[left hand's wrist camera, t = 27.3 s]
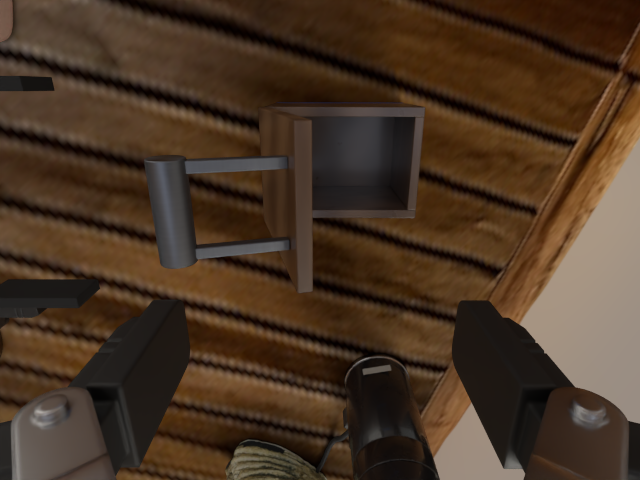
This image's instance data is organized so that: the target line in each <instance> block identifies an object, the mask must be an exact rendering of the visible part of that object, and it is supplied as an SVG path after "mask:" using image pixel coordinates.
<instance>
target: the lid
mask: <svg viewBox="0 0 640 480" xmlns="http://www.w3.org/2000/svg"><path fill="white" fill-rule="evenodd" d="M258 110H259V129H260V148H261V156H251V157H226V158H202V159H186V157H184V156H179V155H162V156H153V157H149V158H146V159H144V163H145V170H146V176H147V182H148V188H149V195H150V201H151V207H152V214H153V220H154V226H155V232H156V239H157V245H158V251H159V257H160V263H161V265H162V266H163V267H165V268H170V269H178V268H184V267H188V266H191V265H193V264H195V263H196V262H197V261H198V259H204V258H213V257H223V256H233V255H243V254H253V253H262V252H272V251H279V253H280V255H281V258H282V260H283V262H284V264H285V266H286V269H287V271H288V273H289V275H290V278H291V280H292V282H293V284H294V286H295V289H296V291H297V293H305V292H312V291H313V225H312V120H310V119H307V118H303V117H300V116H297V115H293V114H290V113H287V112H284V111H280V110H277V109H274V108H270V107H259V108H258ZM254 170H262V187H263V206H264V220H265V222H266V224H267V227H268V229H269V231H270V233H271V236H272V238H265V239H255V240H244V241H233V242H222V243H212V244H201V245H196V237H195V229H194V220H193V212H192V204H191V195H190V187H189V179H188V174H194V173H214V172H234V171H254Z"/></svg>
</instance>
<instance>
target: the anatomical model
mask: <svg viewBox="0 0 640 480" xmlns="http://www.w3.org/2000/svg"><path fill="white" fill-rule="evenodd" d="M12 28H13V3H12V0H0V42H2V41H5V40H6V39H8V38H9V37H10V35H11V33H12Z"/></svg>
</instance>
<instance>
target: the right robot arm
mask: <svg viewBox="0 0 640 480" xmlns="http://www.w3.org/2000/svg"><path fill="white" fill-rule="evenodd" d="M0 91H55V90H54V86H53V82H52V77H31V76H0ZM99 289H100V287H99V283H98V280H7V281H5V282H4V283H2V284H0V328H2V327H3V326H4V325H5V324H7V323H8V322H9V318H17V317H19V318H23V317H24V318H32V317H35V316H38V315H39V314H41V313H42V312H43V311H44V310H45V309H47V308H79V307H80V306H81V305H83V304H84V303H85V302H86V301H87V300H88V299H89V298H90V297H91V296H92V295H93V294H95V293H96V292H97V291H98V290H99ZM2 345H3V344H2V338H1V334H0V357H1V354H2Z"/></svg>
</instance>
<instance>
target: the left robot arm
mask: <svg viewBox="0 0 640 480" xmlns="http://www.w3.org/2000/svg"><path fill="white" fill-rule="evenodd" d="M189 356H190V343H189V336H188V329H187V322H186V315H185V308H184V304H183V302H182V301H181V300H153V301H152V302H151V303H150V305H149V306H148V307H147V309H146V310H145V311H144V312H143V314H142V315H141V316H140V317H133V318H132V319H130V320H128V321H127V322H125V323H124V324H122V325H121V326H119V327H118V328H117V329H116V330H115V331H114V332H113V334H112V335H111V336H110V337H109V338H108V340H107V342H105V343H104V344H103V345H102V347H101V348H100V349H99V352H98V353H96V354H95V355H94V356H93V357H92V358H91V360H90V361H89V362H88V363H87V364H86V366H85V367H84V368H83V369H82V370H81V372H80V373H79V374H78V375H77V376H76V377H75V379H74V380H73V381H72V382H71V383H70V385H69V386H68V387H65V388H60V389H56V390H53V391H50V392H47V393H45V394H42V395H40V396H38V397H37V398H35V399H33V400H32V401H30V402H29V403H27V404H26V405H25V406H24V407H23V408H21V409H20V410H19V412H18V413H17V414H16V415H15V417H14V418H13V420H12V421H7V422H3V423H0V480H116V475H117V473H118V471H119V469H120V467H140V465H141V462H142V460H143V458H144V456H145V454H146V452H147V450H148V448H149V446H150V444H151V441H152V439H153V437H154V435H155V433H156V431H157V429H158V427H159V425H160V423H161V420H162V418H163V416H164V414H165V412H166V410H167V408H168V406H169V404H170V402H171V399H172V397H173V395H174V393H175V391H176V389H177V387H178V385H179V383H180V381H181V378H182V376H183V374H184V372H185V370H186V368H187V365H188V362H189ZM452 357H453V363H454V366H455V369H456V371H457V373H458V375H459V377H460V379H461V381H462V383H463V385H464V387H465V389H466V392H467V394H468V396H469V398H470V400H471V402H472V404H473V406H474V408H475V410H476V412H477V414H478V416H479V418H480V420H481V423H482V425H483V427H484V429H485V431H486V433H487V435H488V437H489V439H490V441H491V443H492V445H493V448H494V450H495V452H496V454H497V456H498V458H499V460H500V462H501V464H502V466H503V468H504V469H523V470H524V472H525V477H524V480H640V424H638V423H634V422H630V421H628V420H627V418H626V417H625V415H624V414H623V413H622V412H621V410H620V409H619V408H617V407H616V406H615V405H614V404H613V403H611V402H610V401H608V400H607V399H605V398H603V397H602V396H600V395H597V394H595V393H593V392H590V391H587V390H584V389H580V388H575V387H574V385H573V384H572V383H571V382H570V381H569V380H568V378H567V377H566V376H565V375H564V374H563V373H562V371H561V370H560V369H559V368H558V367H557V365H556V364H555V363H554V362H553V361H552V360H551V358H550V357H549V356H548V355H547V354H544V350H543V349H542V348H541V347H540V346H539V344H538V343H535V340H534V338H533V337H532V336H531V335H530V334H529V333H528V331H527V330H526V329H525V328H524V327H522V326H521V325H519V324H517V323H516V322H514V321H513V320H511V319H510V318H502V316H501V315H500V314H499V313H498V311H497V310H496V309H495V307H494V306H493V305H492V304H491V303H490V302H489V301H460V303H459V305H458V309H457V316H456V323H455V330H454V337H453V343H452ZM344 381H345V390H346V395H345V398H346V408H345V409H344V411H343V420H344V428H346V429H348V430H347V431H346V432H345V433H343V434H342V435H341V436H337V437H334V438H333V439H332V440H331V441H330V442H329V444H328V446H327V448H326V450H325V452H324V455H323V457H322V459H321V461H320V463H319V465H318V467H317V468H316V473H319V472H320V470H321V469H322V467H323V465H324V463H325V461H326V459H327V456H328V454H329V452H330V450H331V448H332V446H333V445H334V444H335V443H336V442H339V441H342V440H344V439H345V438H347V437H348V436H349V446H350V449H351V456H352V467H353V478H354V480H440V479H439V476H438V472H437V469H436V466H435V462H434V459H433V456H432V453H431V450H430V446H429V443H428V440H427V437H426V433H425V430H424V427H423V423H422V420H421V417H420V414H419V410H418V407H417V404H416V400H415V397H414V394H413V390H412V387H411V384H410V379H409V375H408V372H407V369H406V367H405V366H404V364H403V363H402V362H401V361H399V360H398V359H397V358H395V357H393V356H390V355H386V354H370V355H366V356H363V357H361V358H359V359H357V360H356V361H355V362H353V363H352V364H351V365H350V367H349V368H348V370H347V372H346V374H345V380H344Z"/></svg>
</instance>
